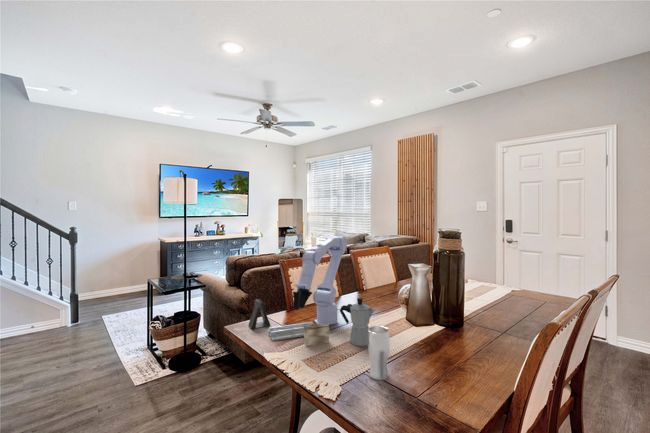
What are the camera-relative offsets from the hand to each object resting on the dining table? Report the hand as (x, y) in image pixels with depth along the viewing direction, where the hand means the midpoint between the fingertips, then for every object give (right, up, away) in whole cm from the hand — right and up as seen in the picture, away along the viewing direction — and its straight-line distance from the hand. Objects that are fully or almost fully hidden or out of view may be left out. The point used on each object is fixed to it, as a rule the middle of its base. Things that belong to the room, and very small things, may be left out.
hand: (298, 308), depth 124 cm
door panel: (+8, -13, -2) cm, 16 cm away
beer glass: (+29, -14, -27) cm, 42 cm away
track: (-3, -13, +8) cm, 16 cm away
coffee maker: (+25, -13, -2) cm, 28 cm away
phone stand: (-20, -14, +17) cm, 29 cm away
